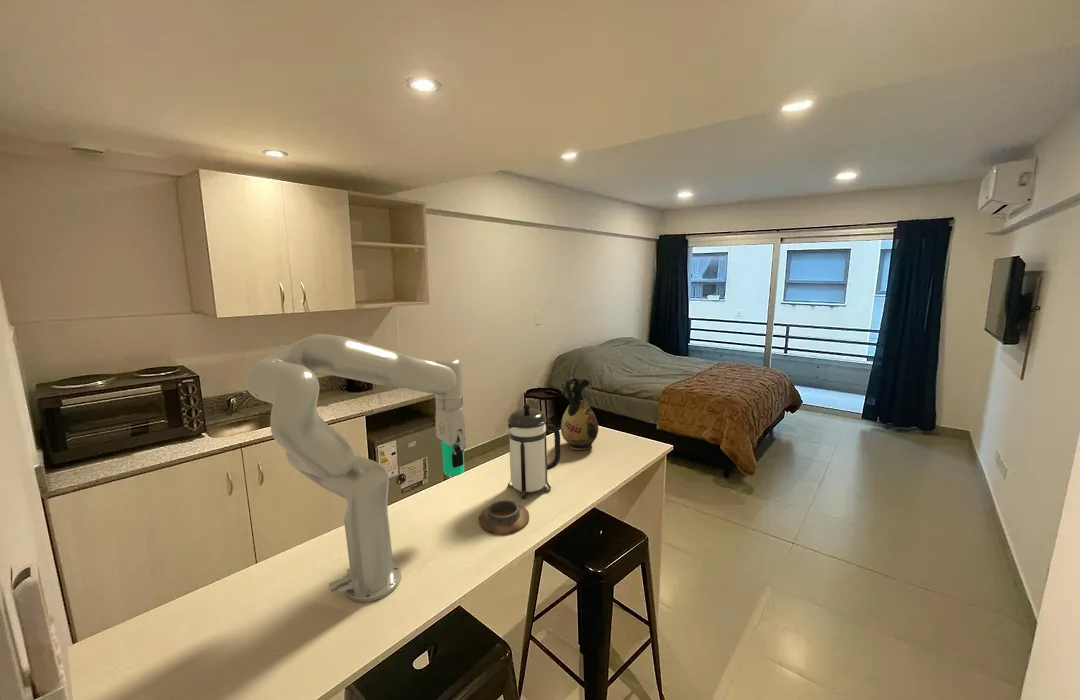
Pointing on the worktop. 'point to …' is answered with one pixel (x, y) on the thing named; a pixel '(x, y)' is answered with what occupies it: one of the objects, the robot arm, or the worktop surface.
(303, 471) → the robot arm
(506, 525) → the candle holder
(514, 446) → the coffee press
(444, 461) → the candle
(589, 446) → the ceramic jug
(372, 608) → the worktop surface
